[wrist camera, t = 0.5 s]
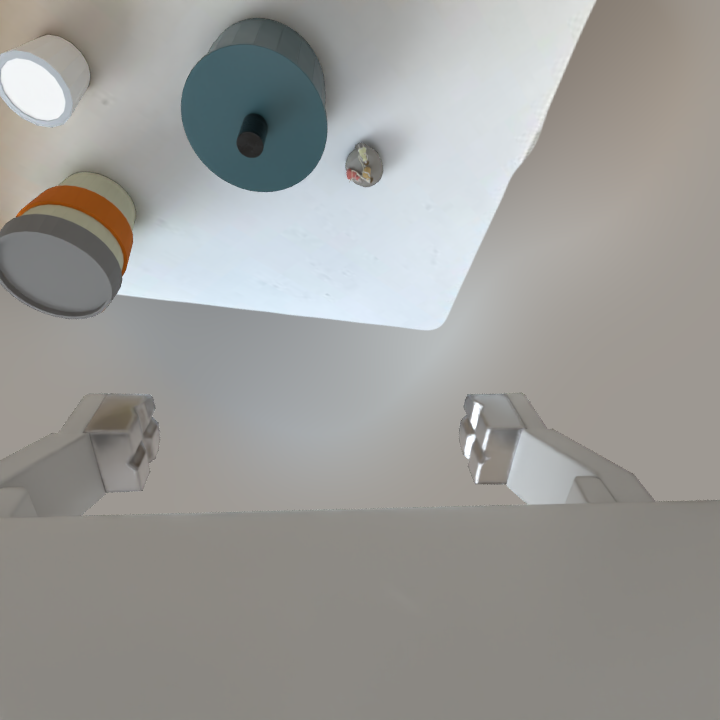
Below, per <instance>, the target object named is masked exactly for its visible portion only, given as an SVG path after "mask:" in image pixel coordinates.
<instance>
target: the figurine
mask: <svg viewBox="0 0 720 720" xmlns="http://www.w3.org/2000/svg"><path fill="white" fill-rule="evenodd" d="M355 148H356V149H355V150H354V151H353V152H352V153H351V154H350V155H349V156H348V158H347V161H346V165H345V167H346V171H347V172H346V173H347V178H348V179H350V181H351V180H352V181H353V182H354V183H356V184H358V185H360V186H363V187H370V186H373V185H375V184H376V183H377V182H378V181H379V180H380V179H381V177H382V174H383V165H382V161H381V159H380V156H379V154H378V153H377V151H375V150H374V149H373V148H371V147H370V146H368V145H366V144H364V143H358V144H357V145H355ZM350 181H349V182H350Z"/></svg>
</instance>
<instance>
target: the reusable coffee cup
mask: <svg viewBox="0 0 720 720" xmlns="http://www.w3.org/2000/svg"><path fill="white" fill-rule="evenodd" d="M135 218H136V210H135V207H134V204H133V202H132V200H131V198H130V196H129V195H128V194H127V192H126V191H125V190H124V189H123V188H122V187H121V186H119V185H118V184H117V183H116V182H114V181H112V180H111V179H109V178H107V177H105V176H102V175H100V174H96V173H91V172H81V173H76V174H73V175H71V176H69V177H68V178H67V179H65V180H64V181H63V182H62V183H60V184H59V185H58V186H55V187H52V188H49V189H47V190H46V191H44V192H43V193H41V194H40V195H39V196H38V197H36V198H35V199H34V200H33V201H31V202H30V203H29V204H28V205H26V206H25V207H24V208H23V209H21V211H20V212H19V213H18V214H17V216H16V218H13V219H12V220H10V221H9V222H7V223H6V224H5V225H4V227H3V228H2V229H1V231H0V284H1V285H2V286H3V287H4V288H5V289H6V290H7V291H8V292H9V293H10V294H11V295H12V296H13V297H15V298H16V299H18V300H19V301H21V302H22V303H24V304H26V305H27V306H29V307H31V308H33V309H35V310H37V311H40V312H42V313H45V314H48V315H51V316H55V317H60V318H65V319H85V318H89V317H93V316H96V315H98V314H100V313H101V312H103V311H104V310H105V309H106V308H107V307H108V306H109V304H110V303H111V301H112V300H113V298H114V297H115V295H116V294H117V292H118V291H119V289H120V287H121V283H122V276H123V274H124V273H125V271H126V268H127V264H128V260H129V256H130V252H131V248H132V244H133V234H132V230H133V226H134V222H135Z"/></svg>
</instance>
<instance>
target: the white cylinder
mask: <svg viewBox="0 0 720 720" xmlns="http://www.w3.org/2000/svg"><path fill="white" fill-rule="evenodd" d="M90 77H91V75H90V71H89V66H88V63H87V62H86V60H85V58H84V57H83V55H82V53H81V52H80V51H79V50H78V49H77V48H76V47H75V46H74V45H73V44H72V43H70V42H68V41H67V40H65V39H63V38H61V37H59V36H53V35H45V36H42V37H39V38H36V39H34V40H32V41H29V42H27V43H25V44H22V45H20V46H18V47H16V48H13V49H11V50H9V51H6V52H4V53H2V54H0V96H1V97H2V99H3V100H4V101H5V103H6V104H7V105H8V107H9V108H11V109H12V110H13V111H14V112H15V113H17V114H18V115H19V116H20V117H21V118H23V119H25V120H27V121H29V122H31V123H33V124H36V125H38V126H45V127H55V126H59V125H62V124H64V123H65V122H66V121H67V120H68V119H69V118H70V116H71V115H72V113H73V112H74V110H75V108H76V107H77V105H78V103H79V101H80V100H81V98H82V96H83V95H84V93H85V91H86V89H87V88H88V86H89V82H90Z"/></svg>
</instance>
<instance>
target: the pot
mask: <svg viewBox="0 0 720 720" xmlns="http://www.w3.org/2000/svg"><path fill="white" fill-rule="evenodd" d="M234 43H254V44H260V45H264V46H267V47H270V48H273V49H275V50H277V51H279V52H281V53H283V54H285V55H286V56H288V57H289V58H291V59H292V60H293V61H295V62H296V63H297V64H298V65H299V66H300V67H301V68H302V69H303V70H304V71H305V72H306V73H307V74H308V75H309V77H310V78H311V80H312V81H313V82H314V84H315V86H316V88H317V89H318V91H319V93H320V96H321V98H322V101H323V103H324V107H325V82H324V75H323V72H322V68H321V66H320V63H319V60H318V58H317V56H316V55H315V53H314V51H313V50H312V48H311V47H310V45H309V44H308V43H307V42H306V41H305V40H304V38H303V37H301V36H300V35H299V34H298V33H297V32H296V31H294V30H293V29H291V28H290V27H288V26H286V25H284V24H282V23H280V22H277V21H274V20H270V19H264V18H253V19H246V20H243V21H240V22H238V23H235V24H233V25H232V26H230V27H229V28H227V29H226V30H225V31H224V32H223V33H222V34H221V35H220V36H219V37H218V39H217V40H216V41H215V42H214V43H213V45H212V47H211V48H210V50H209V52H208V53H210V52H211V51H213V50H215V49H217V48H219V47H221V46H225V45H228V44H234Z"/></svg>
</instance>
